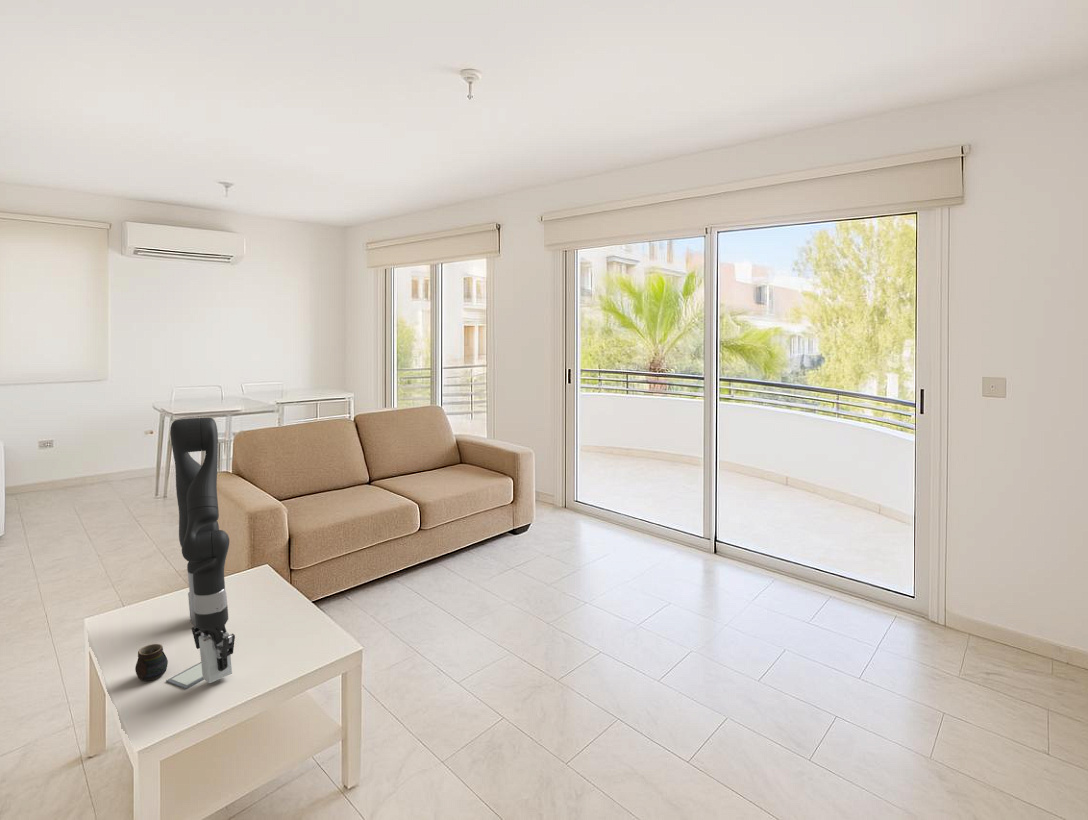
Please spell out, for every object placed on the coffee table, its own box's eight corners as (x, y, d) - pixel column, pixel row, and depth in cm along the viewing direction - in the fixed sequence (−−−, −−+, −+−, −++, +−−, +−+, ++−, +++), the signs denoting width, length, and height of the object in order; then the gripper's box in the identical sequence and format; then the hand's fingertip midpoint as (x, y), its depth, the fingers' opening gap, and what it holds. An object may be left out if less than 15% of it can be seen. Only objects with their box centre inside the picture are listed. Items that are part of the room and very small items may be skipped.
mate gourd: (163, 665, 165) (160, 632, 164) (173, 676, 160) (170, 641, 159) (132, 677, 160) (129, 642, 158) (142, 688, 155) (139, 652, 153)
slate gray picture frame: (166, 681, 157) (166, 679, 157) (201, 662, 166) (201, 661, 166) (186, 689, 154) (185, 687, 154) (221, 669, 163) (221, 667, 163)
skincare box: (225, 668, 161) (222, 626, 159) (233, 674, 158) (229, 631, 157) (201, 678, 156) (197, 635, 155) (208, 685, 154) (204, 641, 152)
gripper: (178, 606, 154) (184, 667, 157) (216, 618, 148) (221, 681, 151) (206, 594, 161) (210, 653, 163) (242, 605, 155) (247, 666, 157)
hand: (215, 666), depth 157 cm, fingers closed on skincare box, 5 cm apart
